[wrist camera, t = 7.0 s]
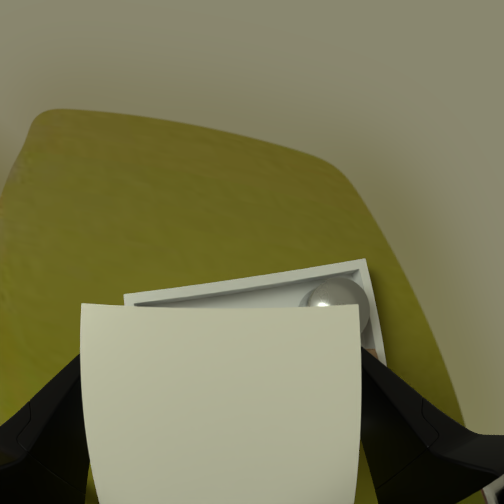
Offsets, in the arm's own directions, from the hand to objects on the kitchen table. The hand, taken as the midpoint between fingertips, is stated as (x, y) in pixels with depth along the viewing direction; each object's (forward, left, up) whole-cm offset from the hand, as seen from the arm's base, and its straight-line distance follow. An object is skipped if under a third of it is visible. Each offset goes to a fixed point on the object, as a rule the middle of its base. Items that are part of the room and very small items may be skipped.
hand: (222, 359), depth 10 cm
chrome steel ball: (+1, -7, -8) cm, 10 cm away
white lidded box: (-2, 0, -8) cm, 8 cm away
